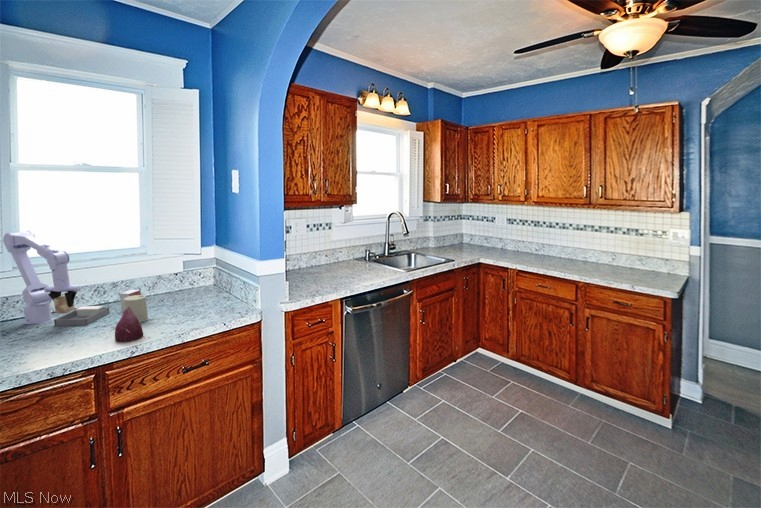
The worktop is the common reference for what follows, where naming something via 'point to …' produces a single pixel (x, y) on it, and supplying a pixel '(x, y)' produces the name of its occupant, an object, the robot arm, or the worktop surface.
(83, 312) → the white box
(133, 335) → the vegetable
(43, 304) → the robot arm
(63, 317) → the tray
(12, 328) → the worktop surface
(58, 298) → the wood block
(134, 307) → the can
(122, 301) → the small box
